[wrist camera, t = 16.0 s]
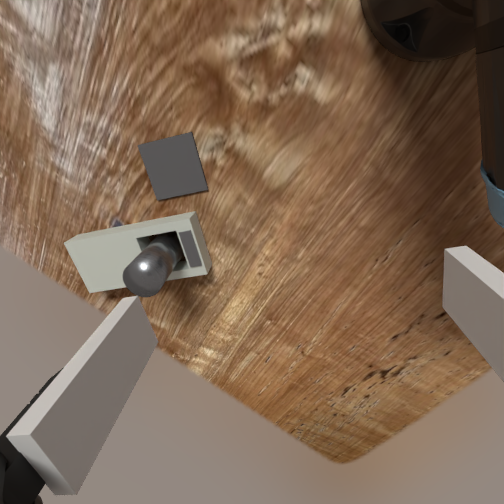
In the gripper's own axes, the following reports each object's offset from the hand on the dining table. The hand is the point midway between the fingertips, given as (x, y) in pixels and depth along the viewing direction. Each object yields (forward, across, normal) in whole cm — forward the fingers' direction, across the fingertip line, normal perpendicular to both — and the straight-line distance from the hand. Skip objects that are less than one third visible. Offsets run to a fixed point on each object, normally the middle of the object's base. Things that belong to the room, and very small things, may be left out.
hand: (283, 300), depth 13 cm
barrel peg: (+27, -17, -6) cm, 32 cm away
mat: (+27, -13, +4) cm, 30 cm away
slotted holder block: (+27, -21, -6) cm, 34 cm away
